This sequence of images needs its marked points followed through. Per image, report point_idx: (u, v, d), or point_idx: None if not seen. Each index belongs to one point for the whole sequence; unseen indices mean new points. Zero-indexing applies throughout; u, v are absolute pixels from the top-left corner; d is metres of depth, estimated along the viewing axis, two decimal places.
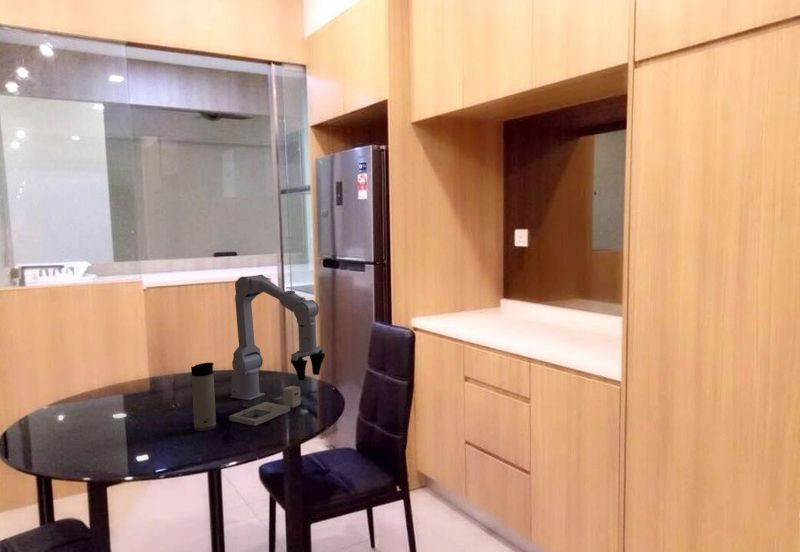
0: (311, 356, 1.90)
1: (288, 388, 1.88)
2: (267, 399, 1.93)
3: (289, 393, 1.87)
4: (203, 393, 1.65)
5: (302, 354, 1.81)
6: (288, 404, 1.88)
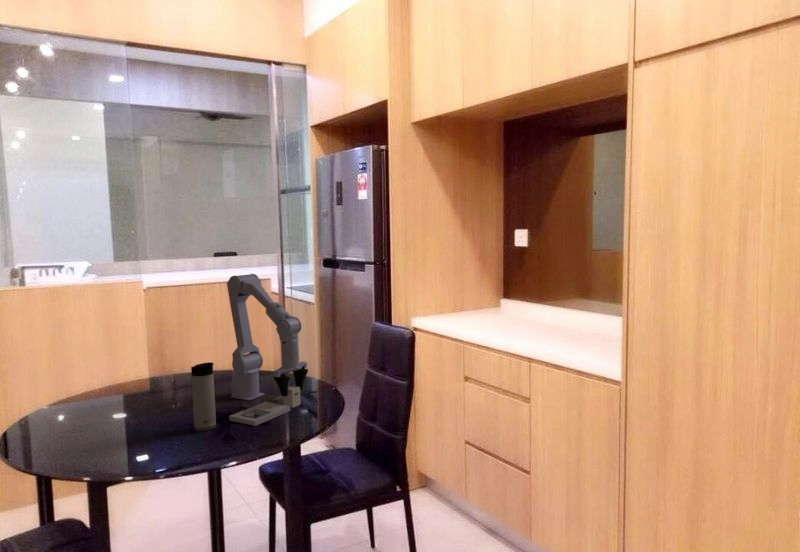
0: (294, 372, 1.93)
1: (288, 388, 1.88)
2: (267, 399, 1.93)
3: (289, 393, 1.87)
4: (203, 393, 1.65)
5: (284, 370, 1.84)
6: (288, 404, 1.88)
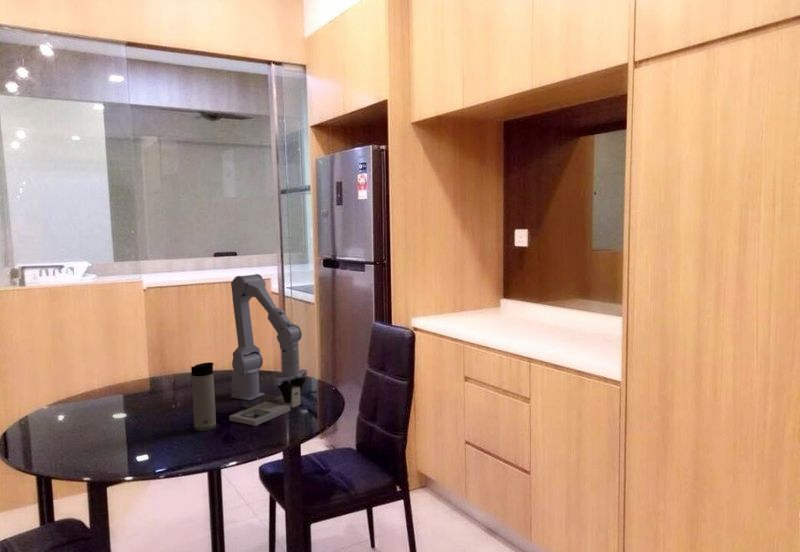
0: (291, 381, 1.92)
1: None
2: (267, 399, 1.93)
3: None
4: (203, 393, 1.65)
5: (285, 379, 1.84)
6: (288, 404, 1.88)
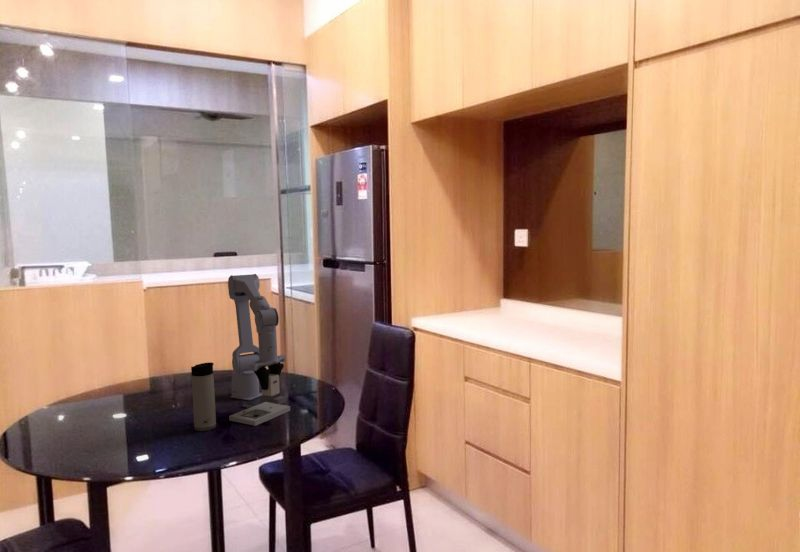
0: (269, 367, 1.83)
1: None
2: (267, 399, 1.93)
3: None
4: (203, 393, 1.65)
5: (261, 364, 1.75)
6: (266, 392, 1.79)
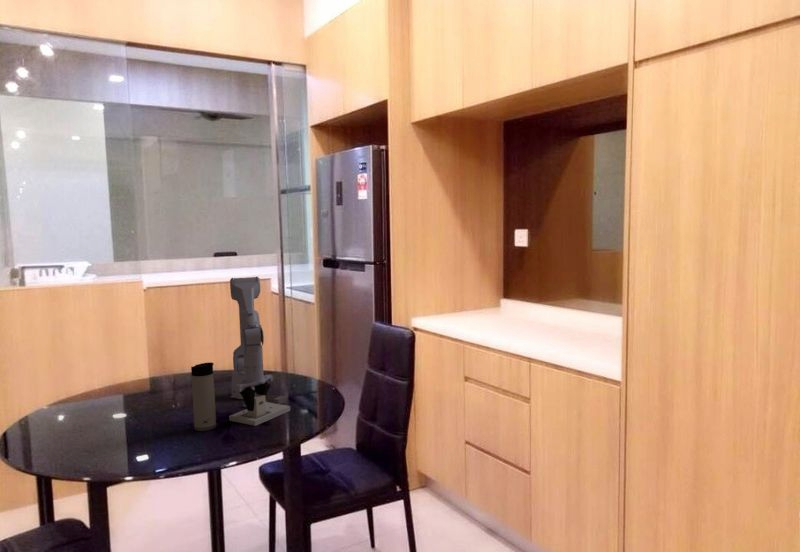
0: (256, 386, 1.78)
1: None
2: (267, 399, 1.93)
3: None
4: (203, 393, 1.65)
5: (247, 385, 1.70)
6: (252, 414, 1.74)
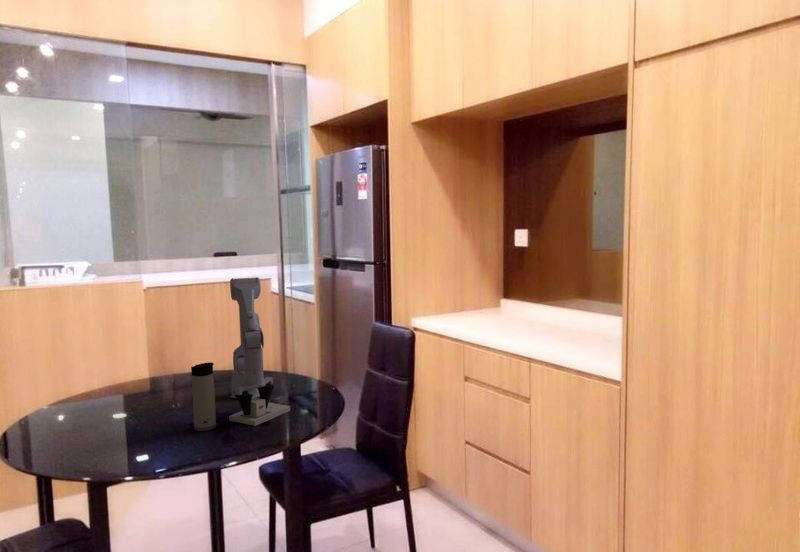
0: (259, 388, 1.80)
1: (252, 401, 1.75)
2: None
3: (253, 407, 1.74)
4: (203, 393, 1.65)
5: (247, 388, 1.71)
6: None
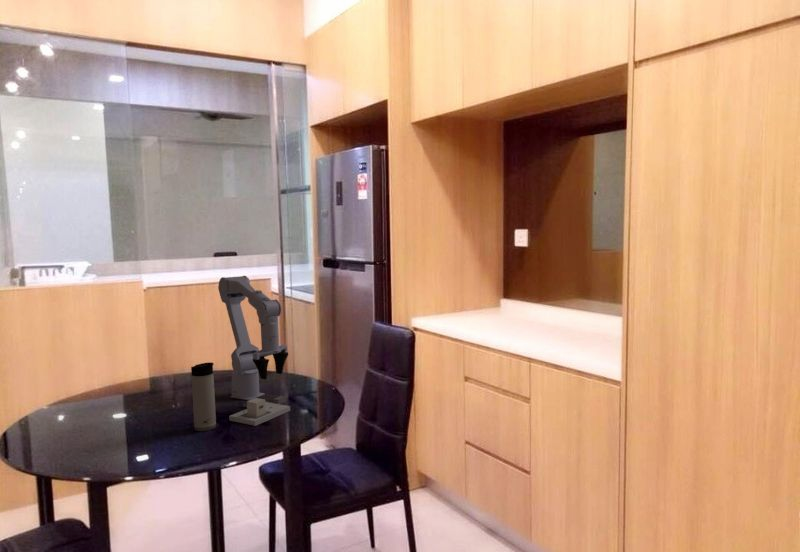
0: (274, 355, 1.91)
1: (252, 401, 1.75)
2: (267, 399, 1.93)
3: (253, 407, 1.74)
4: (203, 393, 1.65)
5: (264, 353, 1.82)
6: None
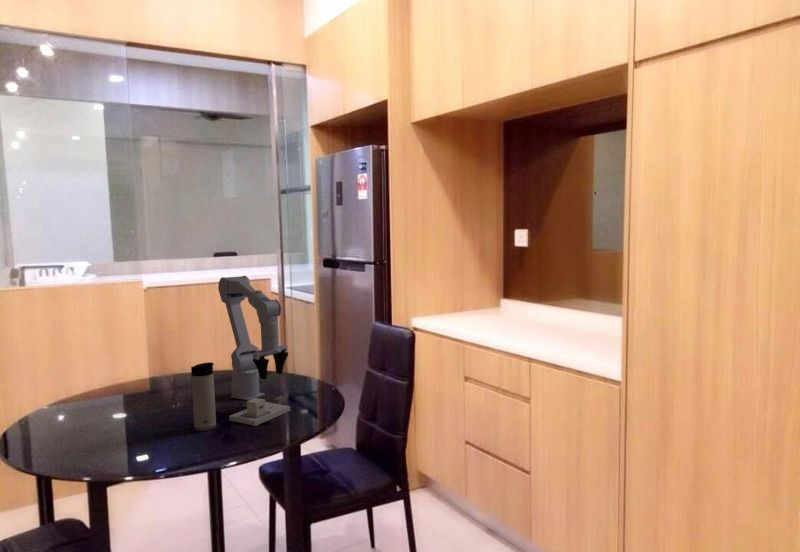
0: (274, 355, 1.91)
1: (252, 401, 1.75)
2: (267, 399, 1.93)
3: (253, 407, 1.74)
4: (203, 393, 1.65)
5: (264, 353, 1.82)
6: None
